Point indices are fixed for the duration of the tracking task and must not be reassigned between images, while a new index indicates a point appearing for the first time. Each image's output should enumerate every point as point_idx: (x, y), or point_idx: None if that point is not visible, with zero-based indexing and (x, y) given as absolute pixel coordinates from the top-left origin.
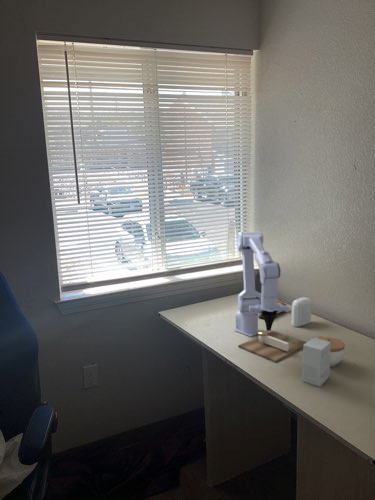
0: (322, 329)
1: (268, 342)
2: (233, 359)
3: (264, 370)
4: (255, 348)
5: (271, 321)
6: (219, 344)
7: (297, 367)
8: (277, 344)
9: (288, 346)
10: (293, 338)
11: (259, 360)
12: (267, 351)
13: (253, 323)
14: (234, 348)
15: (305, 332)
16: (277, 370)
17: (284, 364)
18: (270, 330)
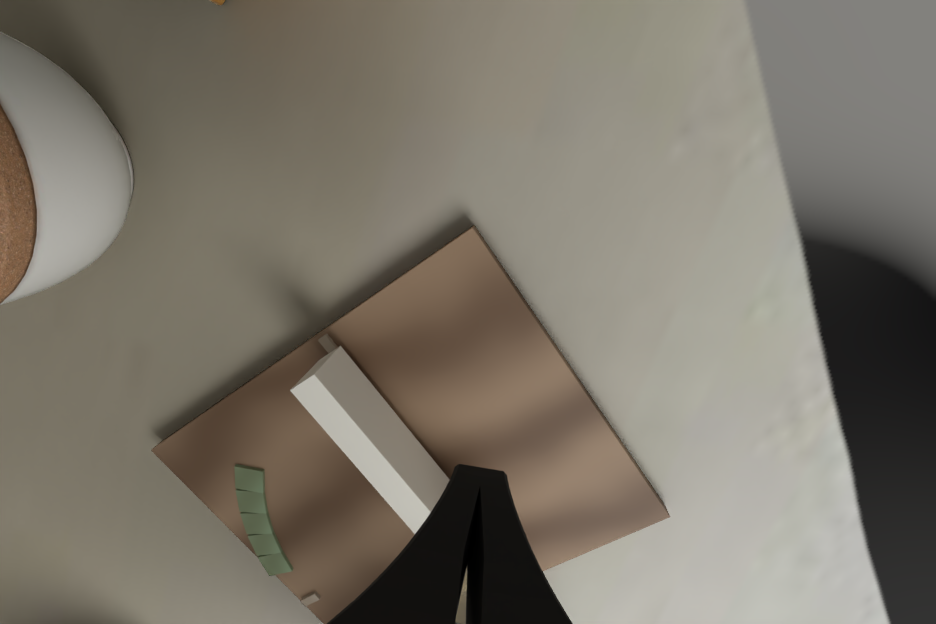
0: (46, 606)
1: (443, 485)
2: (793, 330)
3: (613, 94)
4: (559, 446)
5: (432, 570)
6: (787, 567)
7: (320, 111)
8: (386, 428)
9: (307, 373)
10: (241, 530)
11: (587, 279)
12: (484, 384)
13: None
14: (702, 493)
15: (152, 595)
16: (501, 78)
17: (410, 180)
18: (459, 466)
